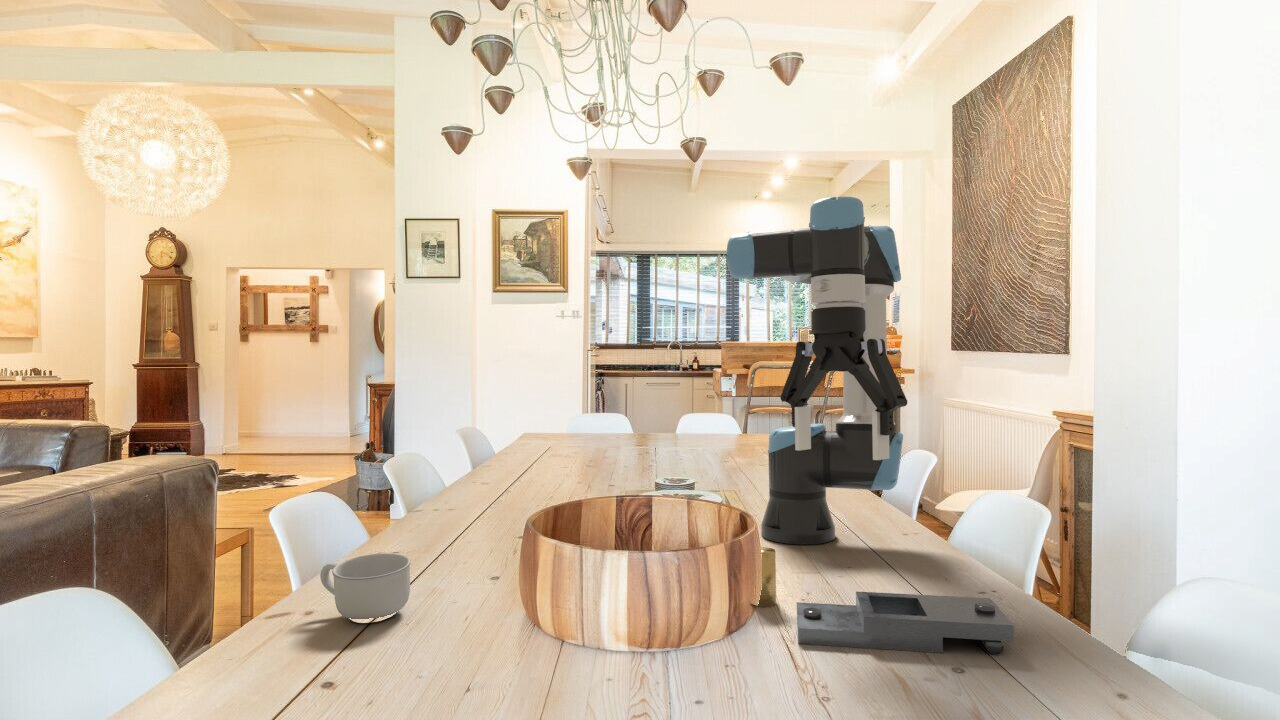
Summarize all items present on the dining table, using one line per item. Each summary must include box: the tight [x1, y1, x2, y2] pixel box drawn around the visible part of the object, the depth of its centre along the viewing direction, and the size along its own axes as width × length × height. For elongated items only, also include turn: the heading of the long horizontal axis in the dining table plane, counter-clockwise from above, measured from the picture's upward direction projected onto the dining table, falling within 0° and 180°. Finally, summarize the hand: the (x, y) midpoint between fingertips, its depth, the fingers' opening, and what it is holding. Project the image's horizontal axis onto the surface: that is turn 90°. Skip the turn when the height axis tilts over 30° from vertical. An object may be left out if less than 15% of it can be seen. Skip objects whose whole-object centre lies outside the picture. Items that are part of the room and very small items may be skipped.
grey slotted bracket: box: [796, 591, 1015, 656], centre depth 94 cm, size 10×26×5 cm, turn 78°
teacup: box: [319, 552, 411, 619], centre depth 105 cm, size 14×11×8 cm
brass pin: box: [758, 546, 777, 608], centre depth 108 cm, size 4×4×8 cm
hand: (840, 454), depth 101 cm, fingers open, 13 cm apart
